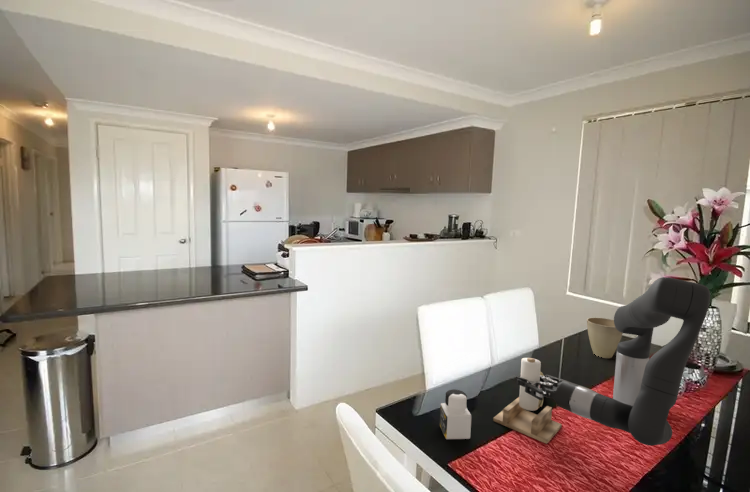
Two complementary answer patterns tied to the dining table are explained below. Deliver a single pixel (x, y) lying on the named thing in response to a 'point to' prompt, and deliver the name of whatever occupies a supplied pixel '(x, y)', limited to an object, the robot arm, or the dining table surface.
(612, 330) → the plant pot
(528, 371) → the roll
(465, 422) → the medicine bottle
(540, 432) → the stand
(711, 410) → the dining table surface
